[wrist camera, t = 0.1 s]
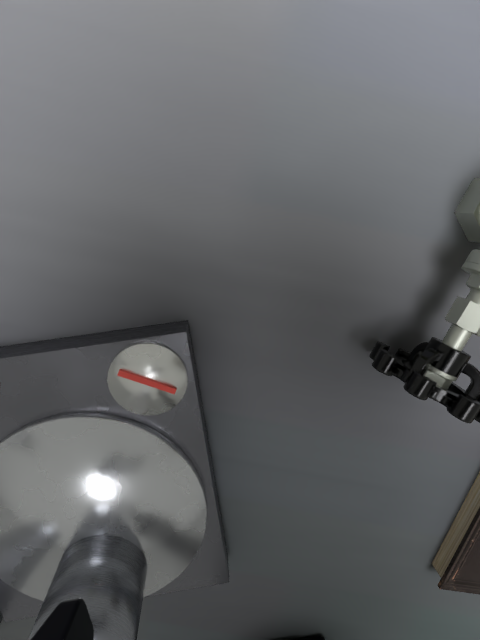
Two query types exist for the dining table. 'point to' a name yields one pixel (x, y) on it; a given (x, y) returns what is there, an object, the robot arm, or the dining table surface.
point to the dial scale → (105, 460)
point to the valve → (446, 337)
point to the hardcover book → (462, 548)
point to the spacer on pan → (101, 585)
